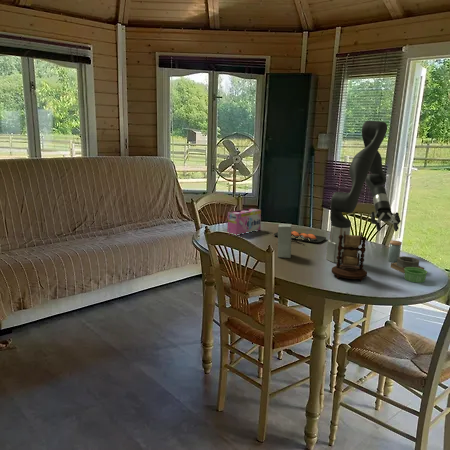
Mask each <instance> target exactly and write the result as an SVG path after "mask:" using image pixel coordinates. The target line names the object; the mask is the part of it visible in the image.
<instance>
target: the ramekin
mask: <svg viewBox="0 0 450 450" xmlns="http://www.w3.org/2000/svg"><path fill="white" fill-rule="evenodd" d="M404 271H405V273H404V274H403V275H404V276H403V277H404V280H406V281H408V282H411V283H416V284H417V283H418V284H420V283H421V284H422V283H425V282H426V277H427V274H428V271H427V269H425V268H424V269H421V268H417V267H406V268H404Z"/></svg>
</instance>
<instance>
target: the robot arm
mask: <svg viewBox="0 0 450 450" xmlns="http://www.w3.org/2000/svg"><path fill="white" fill-rule="evenodd" d="M362 124H363V125H362V127H361V138H362V142H363V146H364V148H362V149H361V150H360V151H359V152H357V153H356V154H355V155H354V156H353V158H352V161H351V163H350V166H349V169H348V173H349V177H350V180H351V184H352V185H351V189H350V192H344V191H343V192H342V191H341V192H340V191H335V192H334V193H333V194H332V196H331V199H330V214H329V215H330V217H329V218H330V230H329V239H328V240H327V243H326V244H327V245H326V247H327V248H326V254H325V255H326V256H325V260H328V261H330V263H333V264H334V263H336V264H337V262H338V261H337V256H338V245H339V244H338V243H339V235H343V237H344V231H345V232H346V234H345V235H351V227H352V221H351V220H350V219H349V218H347V217H346V216H345V215H344V214H343V213H345V214H351V213H353V212H354V211H355V209H356V208H357V205H358V202H359V199H360V195H361V193H362V189H363V186H364V184H365V183H366V186H367V187H368V188H369V190H370V193H371V195H372V199H373V206H374V210H375V212H374V211H371V213H370V222H371V224H372V225H374V224H375V227H376V231H378V232H380V231H381V230H382V227H381V222H389V223H390V224H392V225H393V229H394V232H397V231H398V230H399V225H400V224H401V222H402V221H401V218H400V215H399V213H398V211H397V212H394V213H393V212H392V208H391V203H390V200H389V198H388V197H389V196H387V191H386V188H385V186H384V185H385V184H386V182H387V177H386V174H385V173H384V169H383V159H382V155H381V153H380V152H379V148H380V147H381V145H382V143H383V141H384V138H385V137H386V135H387V132H388V125H387V123H386V122H385V121H378V120H366V121H364V122H363V123H362ZM376 218H377V220H376ZM380 221H381V222H380ZM341 246H343V247H344V243H343V239H342V245H341ZM343 251H344V249H342V250H341V255H342V252H343ZM341 255H340V256H341ZM340 264H341V260H340Z"/></svg>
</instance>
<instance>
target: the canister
mask: <svg viewBox="0 0 450 450" xmlns="http://www.w3.org/2000/svg"><path fill="white" fill-rule="evenodd" d="M402 242H403V241H400V240H395V239H393V240H392V239H391V240H389V248H388V249H389V250H388V257H387V262H388V263H390V264H391V263H397V259H398V257H401V249H402V248H401V247H402V245H403V243H402Z"/></svg>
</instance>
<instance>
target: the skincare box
mask: <svg viewBox="0 0 450 450" xmlns="http://www.w3.org/2000/svg"><path fill="white" fill-rule="evenodd" d="M292 228H293V227H292V223H278V227H277V232H278V236H277V243H278V244H277V258H285V259H291V257H292V242H291V241H292V240H291V232H292Z"/></svg>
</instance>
